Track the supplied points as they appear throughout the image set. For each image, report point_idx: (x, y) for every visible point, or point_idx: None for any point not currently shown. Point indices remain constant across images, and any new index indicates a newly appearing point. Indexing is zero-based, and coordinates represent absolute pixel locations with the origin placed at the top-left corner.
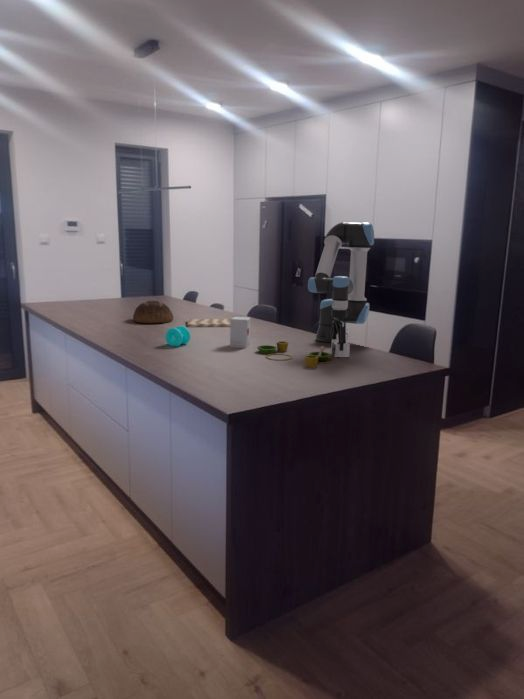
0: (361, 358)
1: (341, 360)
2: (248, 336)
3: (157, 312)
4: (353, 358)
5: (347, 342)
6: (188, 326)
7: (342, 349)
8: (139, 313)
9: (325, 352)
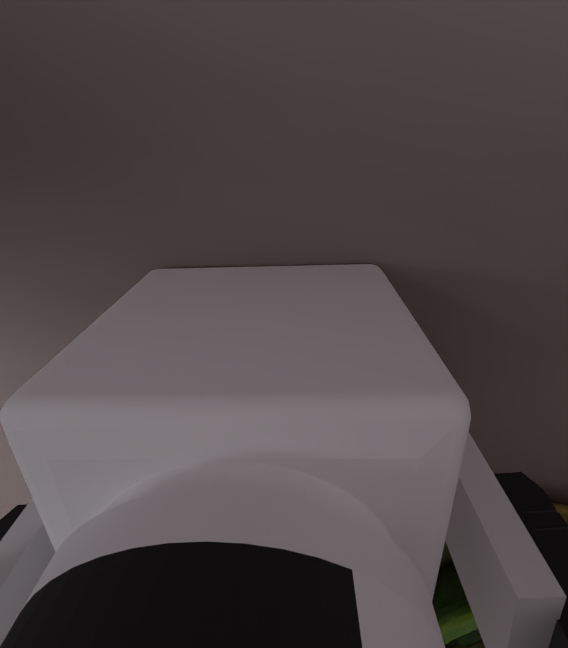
0: (394, 9)
1: (486, 388)
2: None
3: None
4: (382, 185)
5: (228, 430)
6: None
7: (542, 502)
8: None
9: (457, 631)
